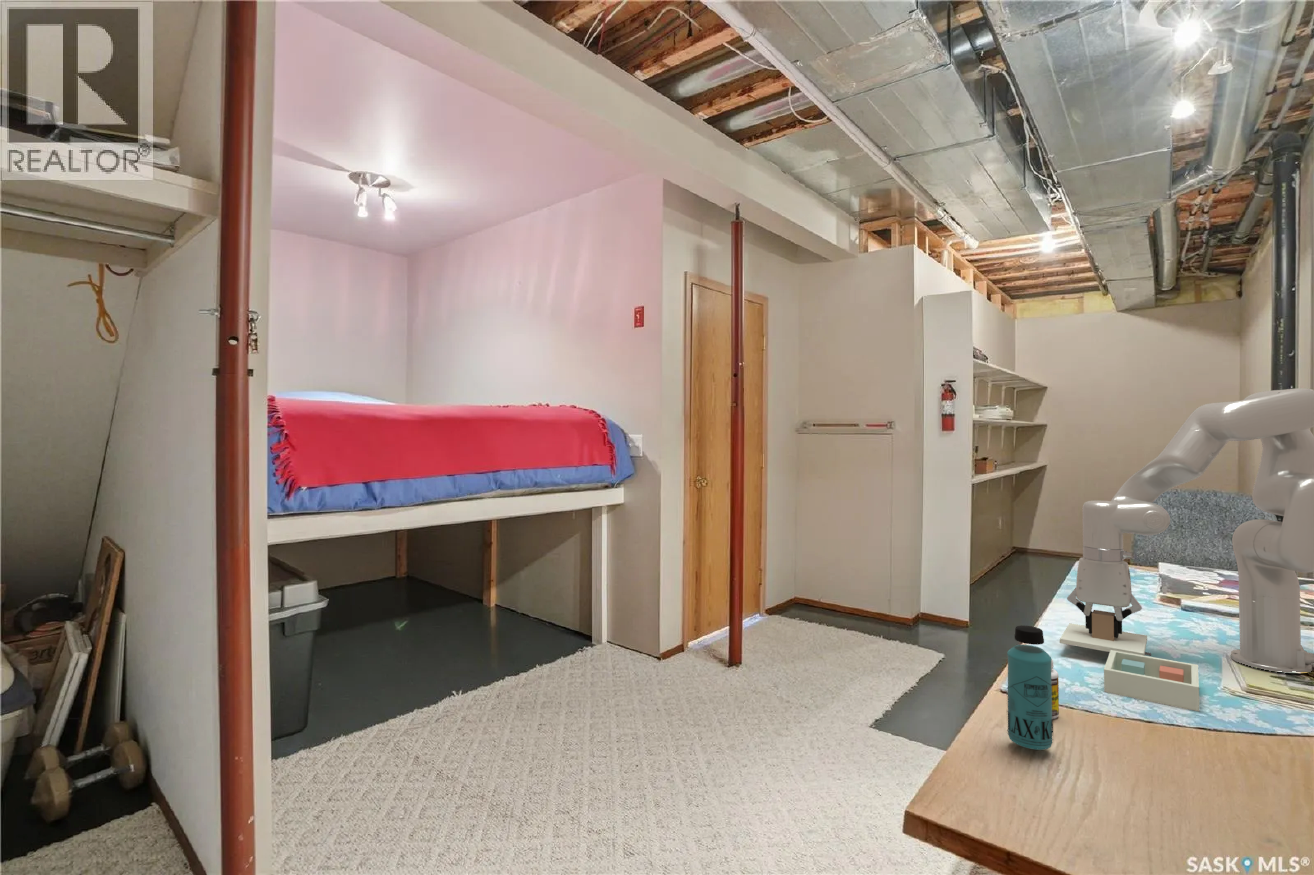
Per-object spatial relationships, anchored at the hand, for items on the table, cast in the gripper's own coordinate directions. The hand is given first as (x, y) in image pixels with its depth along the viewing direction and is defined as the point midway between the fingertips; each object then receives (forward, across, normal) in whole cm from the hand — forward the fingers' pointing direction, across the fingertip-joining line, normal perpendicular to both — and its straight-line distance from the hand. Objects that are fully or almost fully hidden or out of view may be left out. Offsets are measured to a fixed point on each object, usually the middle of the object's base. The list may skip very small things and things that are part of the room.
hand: (1103, 633), depth 140 cm
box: (+5, -9, +18) cm, 21 cm away
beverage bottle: (+6, +5, +58) cm, 58 cm away
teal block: (+5, -6, +15) cm, 17 cm away
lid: (+2, 0, 0) cm, 2 cm away
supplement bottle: (+6, +6, +42) cm, 43 cm away
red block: (+5, -12, +15) cm, 20 cm away
